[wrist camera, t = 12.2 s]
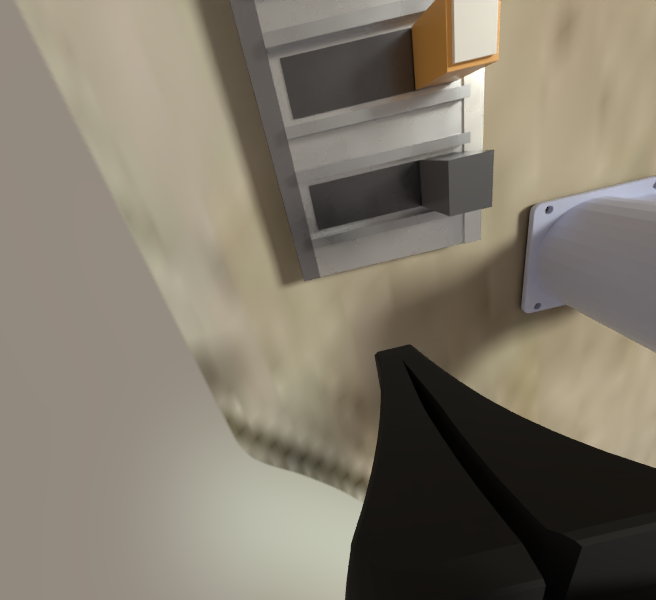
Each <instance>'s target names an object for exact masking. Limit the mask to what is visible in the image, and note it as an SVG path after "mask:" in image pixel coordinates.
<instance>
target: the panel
mask: <svg viewBox="0 0 656 600" xmlns="http://www.w3.org/2000/svg"><path fill="white" fill-rule="evenodd" d="M434 1H435V0H230V4H231V8H232V12H233V15H234V19H235V23H236V27H237V30H238V34H239V38H240V42H241V45H242V49H243V53H244V57H245V60H246V64H247V68H248V72H249V75H250V79H251V83H252V87H253V90H254V94H255V98H256V102H257V105H258V109H259V113H260V116H261V120H262V124H263V128H264V131H265V135H266V139H267V143H268V146H269V150H270V154H271V158H272V161H273V165H274V169H275V173H276V176H277V180H278V184H279V188H280V191H281V195H282V199H283V203H284V206H285V210H286V214H287V218H288V221H289V225H290V229H291V233H292V236H293V240H294V244H295V248H296V251H297V255H298V259H299V263H300V266H301V270H302V274H303V278H304V281H307V280H312V279H316V278H320V277H322V276H326V275H330V274H334V273H339V272H343V271H347V270H351V269H356V268H360V267H364V266H368V265H373V264H377V263H381V262H385V261H390V260H394V259H398V258H402V257H407V256H411V255H415V254H419V253H424V252H428V251H432V250H436V249H441V248H445V247H449V246H453V245H458V244H462V243H469V242H473V241H477V240H481V209H480V210H475V211H471V212H467V213H463V214H459V215H454V216H447V215H444V214H442V213H439V212H436V211H433V210H431V209H428V208H425V207H423V206H422V195H421V180H420V165H419V160H422V159H427V158H431V157H435V156H439V155H444V154H448V153H452V152H457V151H478V150H483V108H484V68H482V69H479V70H477V71H475V72H473V73H471V74H469V75H467V76H465V77H463V78H461V79H459V80H457V81H453V82H449V83H445V84H441V85H436V86H432V87H428V88H424V89H419V90H416V87H415V72H414V56H413V41H412V26H413V24H414V23H415V22H416V21H417V20H418V19H419V18H420V16H421V15H422V14H423V13H424V12H425V11H426V10H427V9H428V7H429V6H430V5H431V4H432V3H433V2H434Z"/></svg>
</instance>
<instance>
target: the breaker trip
mask: <svg viewBox="0 0 656 600" xmlns="http://www.w3.org/2000/svg"><path fill="white" fill-rule="evenodd" d="M500 4H501V0H435V1H434V2H433V3H432V4H431V5H430V6H429V7H428V9H427V10H426V11H425V12H424V13H423V14H422V15H421V16H420V18H419V19H418V20H417V21H416V22H415V23H414V24H413V26H412V41H413V56H414V72H415V87H416V90H419V89H424V88H428V87H432V86H436V85H441V84H445V83H449V82H453V81H457V80H459V79H461V78H463V77H465V76H467V75H469V74H471V73H473V72H475V71H477V70H479V69H482V68H484V67H486V66H488V65H490V64H492V63H494V62H496V61H498V58H499V31H500Z"/></svg>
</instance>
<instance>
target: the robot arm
mask: <svg viewBox="0 0 656 600" xmlns="http://www.w3.org/2000/svg"><path fill="white" fill-rule="evenodd" d="M547 207H548V211H547V212H545V210H546V208H547ZM536 304H537V305H536ZM535 305H536V306H535ZM563 305H568V306H570V307H571V308H573V309H575V310H577V311H579V312H581V313H583V314H584V315H586V316H588V317H590V318H592V319H594V320H596V321H598V322H599V323H601V324H603V325H605V326H607V327H609V328H611V329H612V330H614V331H616V332H618V333H620V334H622V335H624V336H626V337H627V338H629V339H631V340H633V341H635V342H637V343H639V344H640V345H642V346H644V347H646V348H648V349H650V350H652V351H653V352H655V353H656V175H655V176H651V177H646V178H642V179H638V180H634V181H629V182H625V183H621V184H617V185H612V186H608V187H604V188H600V189H595V190H591V191H587V192H583V193H578V194H574V195H570V196H566V197H561V198H557V199H553V200H549V201H544V202H540V203H537V204H535V205H534V206H533V207H532V208H531V210H530V217H529V228H528V239H527V249H526V260H525V271H524V282H523V293H522V304H521V309H522V310H523V311H524V312H525V313H533V312H537V311H542V310H546V309H550V308H554V307H559V306H563ZM375 360H376V366H377V371H378V377H379V383H380V389H381V405H380V421H379V431H378V438H377V445H376V451H375V457H374V462H373V467H372V472H371V476H370V480H369V484H368V488H367V492H366V496H365V500H364V504H363V507H362V511H361V514H360V517H359V520H358V523H357V527H356V530H355V533H354V536H353V539H352V543H351V552H350V559H349V566H348V574H347V583H346V595H345V596H346V597H345V600H656V468H653V467H650V466H647V465H644V464H641V463H638V462H635V461H632V460H629V459H626V458H623V457H620V456H617V455H614V454H611V453H608V452H605V451H603V450H600V449H597V448H595V447H592V446H589V445H587V444H584V443H582V442H579V441H576V440H574V439H571V438H569V437H566V436H564V435H562V434H559V433H557V432H554V431H552V430H550V429H548V428H545V427H543V426H541V425H539V424H536V423H534V422H532V421H530V420H528V419H525V418H523V417H521V416H519V415H517V414H515V413H513V412H511V411H509V410H507V409H506V408H504V407H502V406H500V405H498V404H496V403H494V402H492V401H491V400H489V399H487V398H485V397H484V396H482V395H480V394H479V393H477V392H476V391H474V390H472V389H471V388H469V387H468V386H466V385H465V384H463V383H462V382H460V381H458V380H457V379H456V378H454V377H453V376H451V375H450V374H448V373H447V372H446V371H444V370H443V369H441V368H440V367H439V366H437V365H436V364H435V363H433V362H432V361H431V360H429V359H428V358H427V357H426V356H424V355H423V354H422V353H421V352H419V351H418V350H417V349H416V348H414V347H413V346H412V345H410V344H409V345H405V346H401V347H397V348H392V349H388V350H384V351H380V352H377V353H376V354H375Z"/></svg>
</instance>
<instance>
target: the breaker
mask: <svg viewBox="0 0 656 600" xmlns="http://www.w3.org/2000/svg"><path fill="white" fill-rule="evenodd" d="M493 160H494V150H478V151H457V152H452V153H448V154H444V155H439V156H435V157H431V158H427V159H422V160H419V165H420V180H421V195H422V206H423V207H425V208H428V209H431V210H433V211H436V212H439V213H442V214H444V215H447V216H454V215H459V214H463V213H467V212H471V211H475V210H480V209H484V208H488V207H492V188H493Z"/></svg>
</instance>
